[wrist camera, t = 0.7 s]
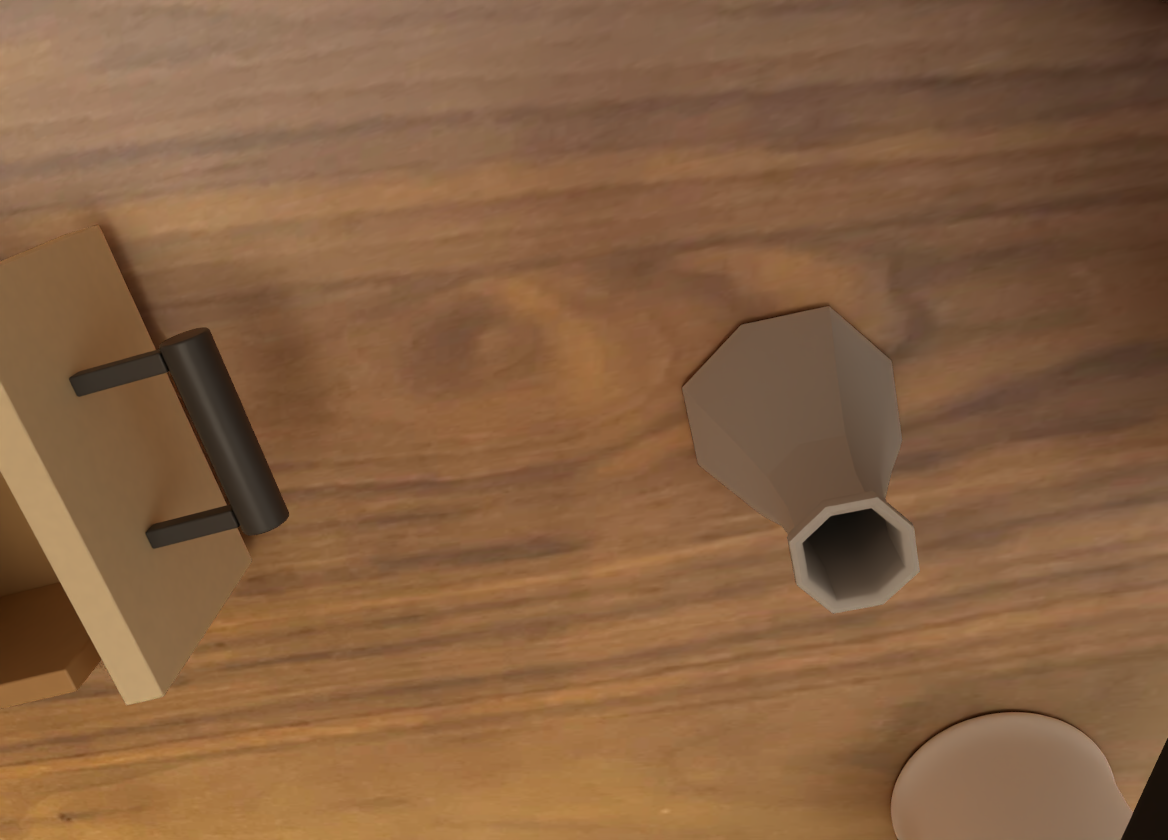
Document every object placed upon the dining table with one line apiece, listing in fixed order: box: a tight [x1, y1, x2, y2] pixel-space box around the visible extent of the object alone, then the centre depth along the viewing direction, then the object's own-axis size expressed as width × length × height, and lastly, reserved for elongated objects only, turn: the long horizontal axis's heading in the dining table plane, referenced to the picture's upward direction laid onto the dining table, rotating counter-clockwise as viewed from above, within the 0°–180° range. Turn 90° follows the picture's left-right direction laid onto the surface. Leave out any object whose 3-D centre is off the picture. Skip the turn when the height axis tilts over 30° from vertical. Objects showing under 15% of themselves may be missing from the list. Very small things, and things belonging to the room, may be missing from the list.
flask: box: [682, 306, 920, 613], centre depth 30 cm, size 7×7×10 cm
